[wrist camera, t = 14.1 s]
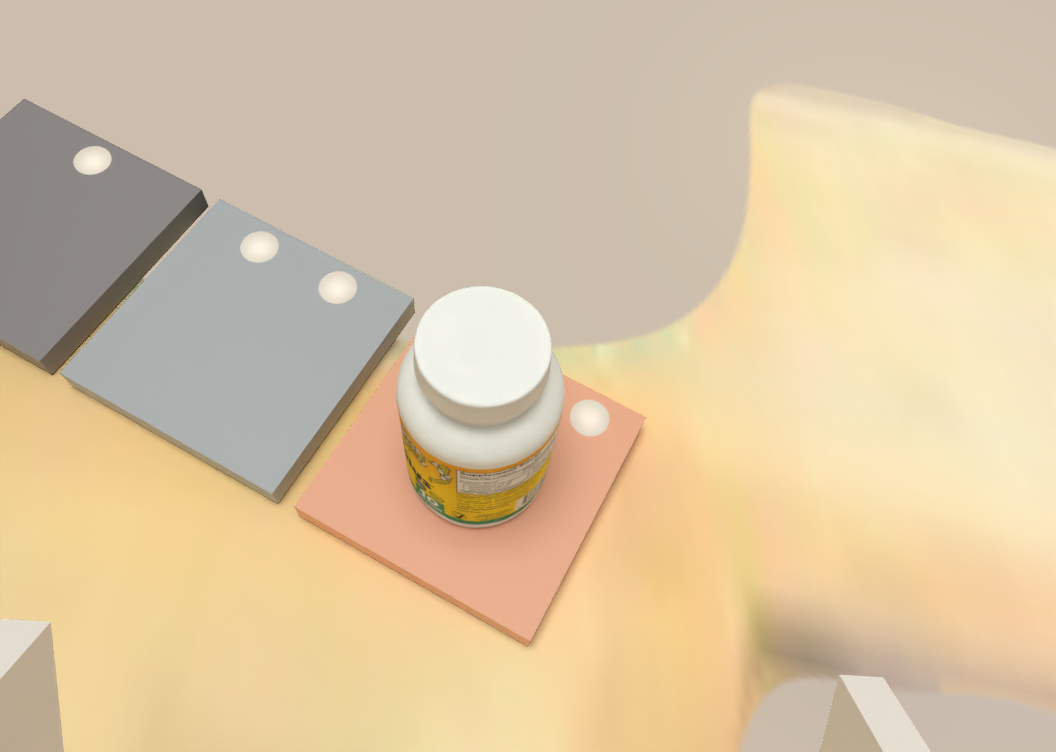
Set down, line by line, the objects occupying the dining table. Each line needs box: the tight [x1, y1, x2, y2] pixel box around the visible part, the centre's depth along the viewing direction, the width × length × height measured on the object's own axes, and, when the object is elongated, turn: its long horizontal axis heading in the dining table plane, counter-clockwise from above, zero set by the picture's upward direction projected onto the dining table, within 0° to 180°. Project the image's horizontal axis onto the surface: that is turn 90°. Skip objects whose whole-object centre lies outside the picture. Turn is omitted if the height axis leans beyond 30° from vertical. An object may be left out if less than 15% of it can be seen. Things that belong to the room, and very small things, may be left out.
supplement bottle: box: [396, 286, 565, 528], centre depth 28 cm, size 5×5×10 cm
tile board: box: [0, 99, 646, 646], centre depth 35 cm, size 32×10×1 cm, turn 62°
